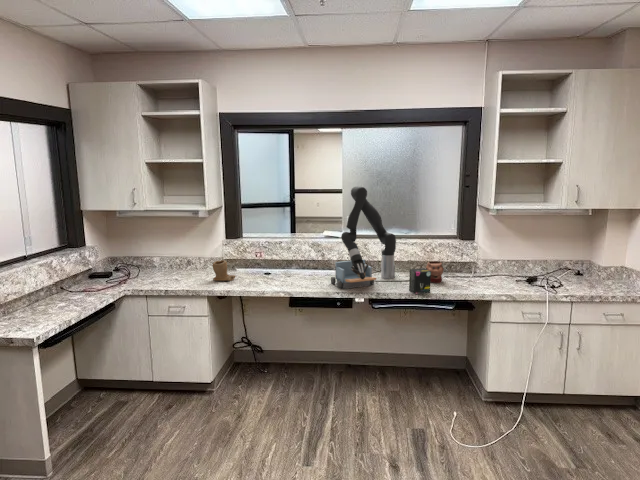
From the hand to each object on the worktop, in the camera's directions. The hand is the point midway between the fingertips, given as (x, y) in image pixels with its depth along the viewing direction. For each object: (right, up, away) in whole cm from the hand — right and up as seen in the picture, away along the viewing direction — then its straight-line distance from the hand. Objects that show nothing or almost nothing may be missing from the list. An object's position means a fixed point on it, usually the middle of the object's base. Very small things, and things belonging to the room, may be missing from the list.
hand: (363, 278), depth 273 cm
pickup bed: (-6, -5, +18) cm, 20 cm away
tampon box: (+37, -9, -2) cm, 38 cm away
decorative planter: (+53, -4, +24) cm, 59 cm away
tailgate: (-3, -1, +9) cm, 9 cm away
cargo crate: (0, 0, +15) cm, 15 cm away
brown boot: (-99, -5, +32) cm, 104 cm away
